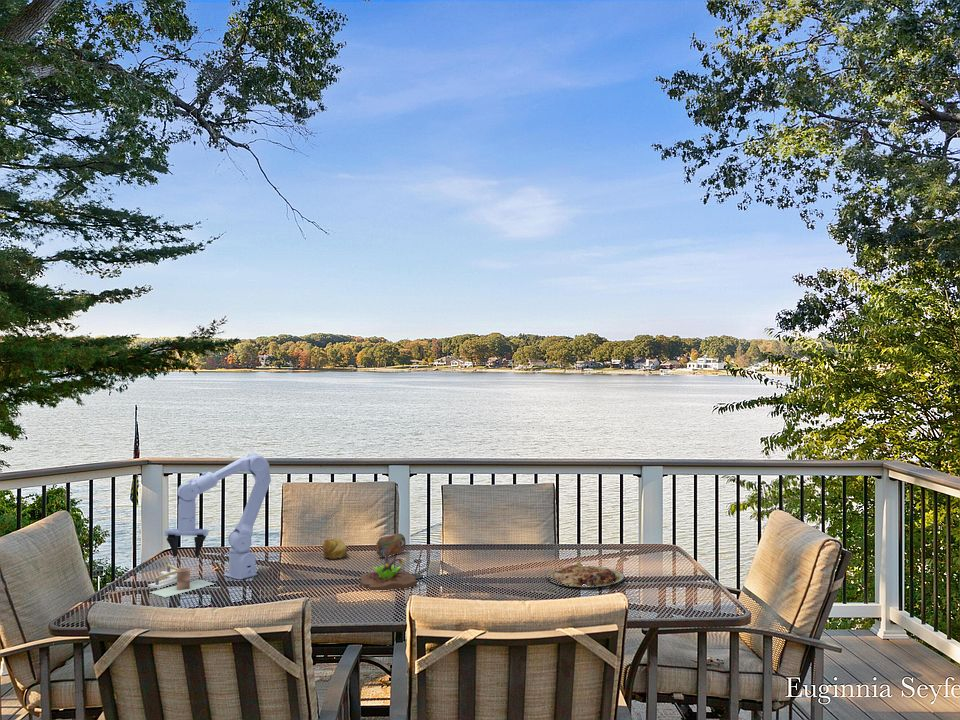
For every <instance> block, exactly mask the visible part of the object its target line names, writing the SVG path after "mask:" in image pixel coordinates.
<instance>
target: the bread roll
mask: <svg viewBox="0 0 960 720" xmlns="http://www.w3.org/2000/svg"><path fill="white" fill-rule="evenodd" d="M322 551H323V555H324V557H325V558H326V559H328V558H329V560H337V558H339V559H343V558H344V557H346V555H347V553H348V547H347V545H346V543H345V542H344V541H342V540H341V539H339V538H331V539H326V540H324V541H323V543H322Z"/></svg>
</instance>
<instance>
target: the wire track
mask: <svg viewBox="0 0 960 720" xmlns="http://www.w3.org/2000/svg"><path fill="white" fill-rule="evenodd" d="M177 569H180V568H178V566H177V567H176V566H175V565H172V564H171V563H168V564H167V566H166V570H165V571H160V572H159V575H158V576H155V582H153V583H149V584H147V588H148V587H150V588H149V589H153V588H157V589H156V590H160V588H162V589H164V588H163V587H165V588H167V587H166V586H168V587H170V586H169V585H171V586H173V585H172V584H174V585H176V584H175V583H177ZM166 577H167V578H166ZM163 578H165V579H163ZM160 579H161V580H160Z"/></svg>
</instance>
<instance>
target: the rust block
mask: <svg viewBox="0 0 960 720" xmlns="http://www.w3.org/2000/svg"><path fill="white" fill-rule="evenodd" d="M190 582H191V568H190V567H187V568H179V569H177V584H176V585H177V590H183V589H190Z"/></svg>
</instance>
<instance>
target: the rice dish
mask: <svg viewBox="0 0 960 720" xmlns="http://www.w3.org/2000/svg"><path fill="white" fill-rule="evenodd" d="M557 570H559V571H557ZM554 571H556V572H554ZM551 572H553V573H551ZM549 573H551V574H550V575H551V577H552V578H554V579H556V580H558V581H561V582H562V583H563V584H565V585H564V586H566V587H577V588H583V589H591V588H594V587H595V588H599V587H604V586H605V587H607V586H610V585H613V584H617V583H619V582H622V580H624V577H625V574H624V573H623V571H619V570H615V569H613V568H609V567H604V566H602V567H601V566H593V565H585V566H584V565H583V564H582V563H581V562H577V563H575V564H574V565H573V564H571V565H568V566H567V567H560V568H557V569H552V570H551V571H549V572H548V573H546V576H547V575H549ZM547 578H548V576H547V577H546V579H547ZM613 581H616V582H613ZM550 582H551V583H553V584H556V585H560V586H563V585H562V584H560V583H558V584H557V583H555V582H553V581H550ZM583 584H586V585H587V586H590V587H586V586H584V587H583V586H582V585H583ZM568 585H569V586H568Z"/></svg>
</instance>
